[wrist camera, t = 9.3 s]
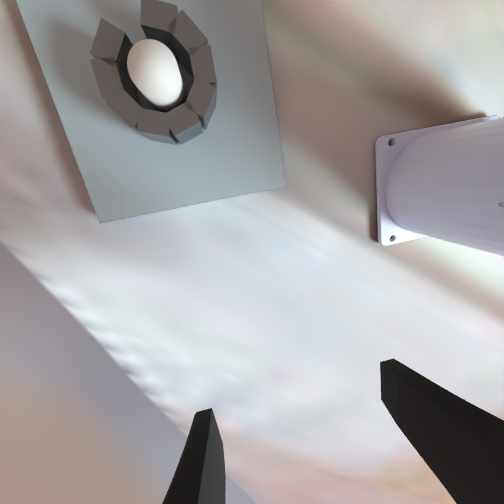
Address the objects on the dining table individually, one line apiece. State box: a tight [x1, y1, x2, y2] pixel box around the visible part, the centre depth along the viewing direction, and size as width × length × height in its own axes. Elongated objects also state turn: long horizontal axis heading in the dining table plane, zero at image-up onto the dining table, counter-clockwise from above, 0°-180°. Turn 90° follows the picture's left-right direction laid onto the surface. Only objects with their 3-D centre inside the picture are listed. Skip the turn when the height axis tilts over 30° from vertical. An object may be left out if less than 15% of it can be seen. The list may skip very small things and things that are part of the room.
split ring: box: [90, 0, 217, 145], centre depth 12 cm, size 5×5×3 cm
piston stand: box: [16, 0, 286, 223], centre depth 13 cm, size 12×12×5 cm
